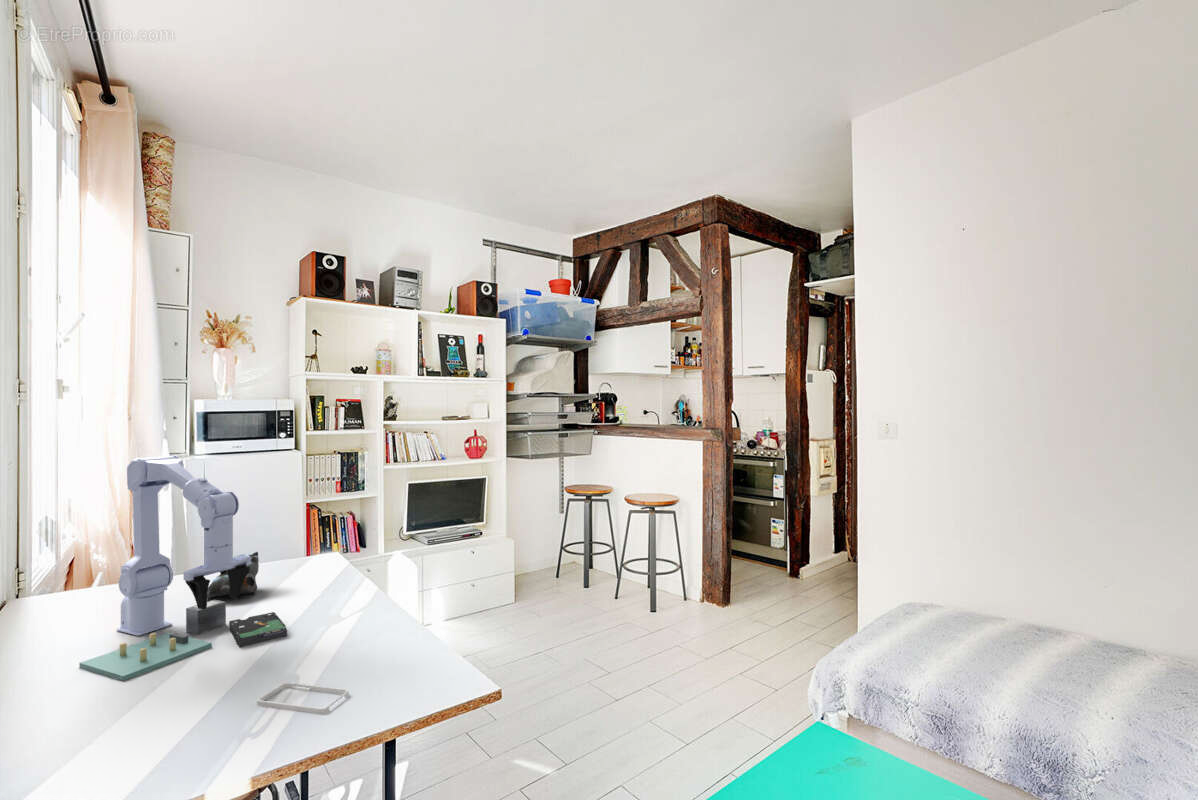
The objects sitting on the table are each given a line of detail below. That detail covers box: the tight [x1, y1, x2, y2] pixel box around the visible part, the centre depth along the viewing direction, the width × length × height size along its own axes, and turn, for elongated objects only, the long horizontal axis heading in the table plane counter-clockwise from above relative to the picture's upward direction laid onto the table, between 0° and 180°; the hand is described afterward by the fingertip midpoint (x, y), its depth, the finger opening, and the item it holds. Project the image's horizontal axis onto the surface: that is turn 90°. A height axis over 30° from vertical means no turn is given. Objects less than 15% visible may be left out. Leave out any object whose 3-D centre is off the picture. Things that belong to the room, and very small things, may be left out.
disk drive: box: [228, 611, 288, 649], centre depth 144 cm, size 10×3×15 cm
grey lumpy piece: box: [207, 551, 260, 600], centre depth 174 cm, size 15×12×14 cm
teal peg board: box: [78, 632, 213, 682], centre depth 130 cm, size 16×18×4 cm
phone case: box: [256, 682, 350, 714], centre depth 111 cm, size 7×1×15 cm
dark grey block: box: [185, 599, 227, 636], centre depth 147 cm, size 4×7×6 cm, turn 157°
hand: (218, 602), depth 136 cm, fingers open, 7 cm apart
